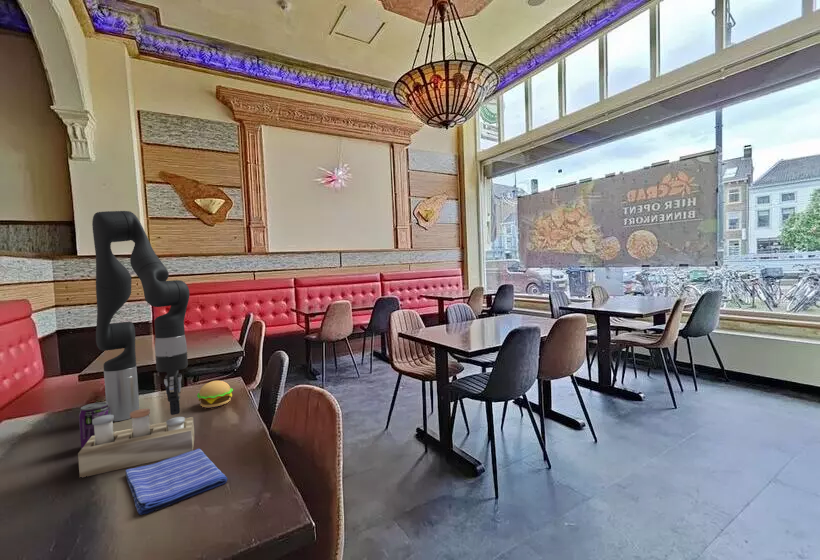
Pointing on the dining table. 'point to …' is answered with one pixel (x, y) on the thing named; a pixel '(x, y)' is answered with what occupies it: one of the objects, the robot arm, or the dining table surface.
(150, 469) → the dish towel
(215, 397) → the hamburger
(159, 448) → the beech block
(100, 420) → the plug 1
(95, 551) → the dining table surface
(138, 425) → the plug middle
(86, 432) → the beverage can
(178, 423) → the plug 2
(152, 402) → the dining table surface
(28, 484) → the dining table surface
